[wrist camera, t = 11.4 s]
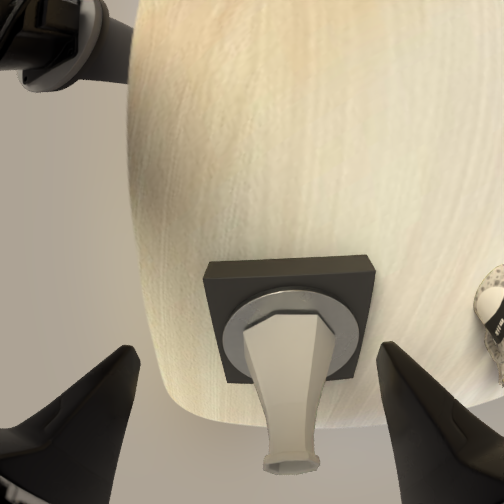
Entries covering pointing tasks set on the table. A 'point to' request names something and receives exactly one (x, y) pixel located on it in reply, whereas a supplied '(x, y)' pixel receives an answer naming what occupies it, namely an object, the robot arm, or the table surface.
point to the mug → (492, 311)
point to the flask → (289, 385)
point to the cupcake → (501, 371)
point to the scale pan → (292, 303)
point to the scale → (283, 275)
